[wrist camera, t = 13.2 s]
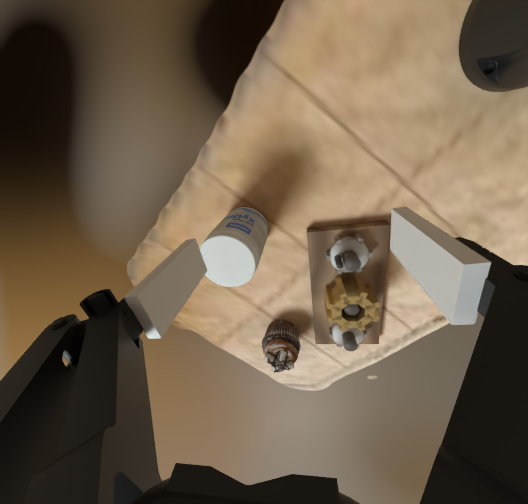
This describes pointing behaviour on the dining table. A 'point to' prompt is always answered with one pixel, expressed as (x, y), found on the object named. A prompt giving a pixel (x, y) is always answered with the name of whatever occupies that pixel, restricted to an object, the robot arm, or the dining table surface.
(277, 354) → the cupcake
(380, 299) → the gear board
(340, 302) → the brass gear
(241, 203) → the dining table surface
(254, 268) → the supplement tub
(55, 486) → the robot arm
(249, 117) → the dining table surface
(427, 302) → the dining table surface
